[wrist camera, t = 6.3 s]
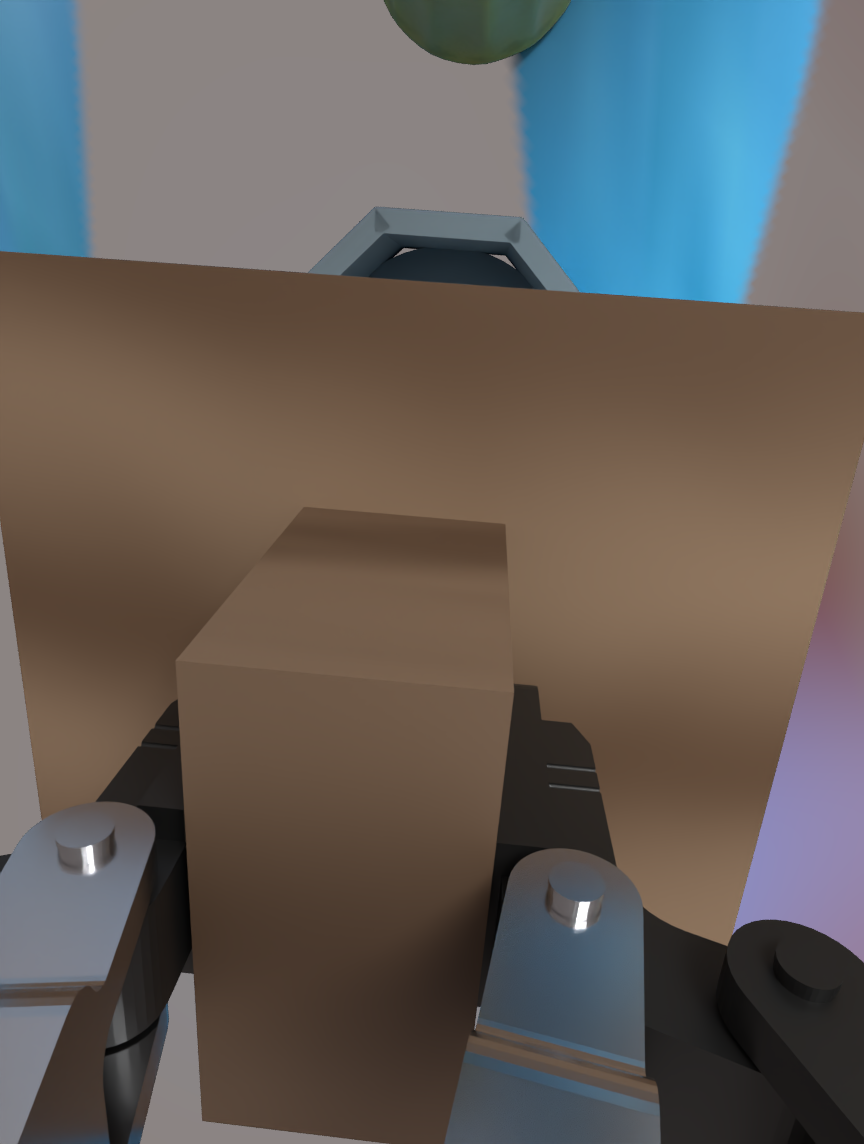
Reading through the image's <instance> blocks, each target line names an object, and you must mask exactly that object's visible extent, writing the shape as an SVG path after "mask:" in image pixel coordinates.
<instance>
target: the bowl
mask: <svg viewBox="0 0 864 1144" xmlns="http://www.w3.org/2000/svg"><path fill="white" fill-rule="evenodd" d="M403 248H411V249H417V250H413V251H410V252H406V253H403V254H401V255H399V256H396V257H394V256H395V255H397V254H398V253H399V252H400V251H401V250H402V249H403ZM489 254H492V255H505V256H506V257H507V258H508V259H509V261H510V262H511V263H512V264H513V266H514V267H515V268H516V269H514V268H513V267H512V266H510V265H509V264H507V263H505V262H504V261H502V260H500V259H498V258H495V257H493V256H491V255H489ZM393 257H394V258H393ZM308 273H314V274H328V275H342V276H356V277H370V278H384V279H398V280H412V281H426V282H440V283H454V284H468V285H482V286H497V287H511V288H525V289H539V290H553V291H567V292H579V291H578V289H577V288H576V287H575V285H574V284H573V283H572V281H571V280H570V279H569V277H568V276H567V275H566V273H565V272H564V271H563V270H562V268H561V267H560V266H559V264H558V263H557V262H556V260H555V259H554V258H553V256H552V255H551V254H550V253H549V251H548V250H547V249H546V247H545V246H544V245H543V243H542V242H541V241H540V239H539V238H538V237H537V236H536V234H535V233H534V232H533V230H532V229H531V228H530V226H529V225H528V224H527V222H526V221H525V220H524V218H522V217H511V216H498V215H484V214H469V213H455V212H442V211H429V210H415V209H401V208H386V207H376V208H375V207H374V208H373V209H372V210H371V211H370V212H369V213H368V214H367V215H366V216H365V217H364V218H363V219H362V220H361V221H360V222H359V223H358V224H357V225H356V226H355V227H354V228H353V229H352V230H351V231H350V232H349V233H348V234H347V235H346V236H345V237H344V238H343V239H342V240H341V241H340V242H339V243H338V244H337V245H336V246H335V247H334V248H333V249H332V250H330V251H329V252H328V253H327V254H326V255H325V257H323V258H322V259H321V260H320V261H319V262H318V263H317V264H316V265H315V266H314V267H313V268H312V269H311V270H310V271H309V272H308Z"/></svg>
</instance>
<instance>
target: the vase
mask: <svg viewBox="0 0 864 1144" xmlns="http://www.w3.org/2000/svg"><path fill="white" fill-rule="evenodd" d="M384 2H385V4H386V6H387V8H388V10H389V12H390V14H391V16H392V18H393V19H394V20H395V22H396V23H397V25H398V26H399V27H400V28H401V29H402V31H403V32H404V33H405V34H406V35H407V36H408V37H409V38H410V39H411V40H413V41H414V42H415V43H416V44H417V45H418V46H420V47H421V48H422V49H424V50H425V51H427V52H428V53H430V54H432V55H435V56H437V57H439V58H442V59H444V60H448V61H452V62H456V63H462V64H472V65H476V64H488V63H492V62H496V61H499V60H502V59H505V58H507V57H510V56H513V55H515V54H517V53H520V52H522V51H524V50H526V49H527V48H529V47H531V46H533V45H534V44H535V43H536V42H538V41H539V40H540V39H541V38H542V37H543V36H544V35H545V34H546V33H547V32H548V31H549V30H550V29H551V28H552V26H553V25H554V24H555V23H556V22H557V21H558V20H559V18H560V17H561V16H562V15H563V13H564V12H565V11H566V9H567V7H568V5H569V4H570V2H571V0H384Z"/></svg>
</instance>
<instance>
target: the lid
mask: <svg viewBox="0 0 864 1144" xmlns="http://www.w3.org/2000/svg"><path fill="white" fill-rule="evenodd" d="M863 442H864V313H862V312H848V311H834V310H820V309H805V308H792V307H778V306H763V305H750V304H736V303H722V302H708V301H694V300H680V299H665V298H651V297H637V296H623V295H609V294H595V293H581V292H567V291H553V290H539V289H525V288H511V287H497V286H482V285H468V284H454V283H440V282H426V281H412V280H398V279H384V278H370V277H356V276H342V275H328V274H314V273H299V272H285V271H271V270H257V269H243V268H229V267H215V266H201V265H187V264H173V263H158V262H144V261H130V260H116V259H102V258H88V257H74V256H60V255H46V254H32V253H18V252H4V251H0V522H1V529H2V536H3V544H4V551H5V558H6V565H7V573H8V580H9V587H10V594H11V602H12V608H13V616H14V623H15V630H16V637H17V645H18V652H19V659H20V666H21V674H22V681H23V688H24V695H25V703H26V710H27V717H28V723H29V731H30V739H31V746H32V753H33V760H34V767H35V774H36V781H37V789H38V796H39V803H40V810H41V818H42V820H43V819H45V818H47V817H48V816H50V815H52V814H54V813H57V812H59V811H61V810H64V809H67V808H70V807H73V806H77V805H81V804H86V803H92V802H96V800H97V799H98V798H99V796H100V795H101V794H102V792H103V791H104V790H105V788H106V787H107V786H108V785H109V783H110V782H111V781H112V779H113V778H114V777H115V775H116V774H117V773H118V772H119V770H120V769H121V768H122V766H123V765H124V764H125V762H126V761H127V760H128V759H129V757H130V756H131V755H132V753H133V752H134V751H135V749H136V748H137V747H138V746H141V743H142V740H143V739H144V738H145V736H146V735H147V734H148V732H149V731H150V730H151V729H152V728H153V729H154V727H155V723H156V722H157V721H158V719H159V718H160V717H161V716H162V714H163V713H164V712H165V710H166V709H167V708H168V706H169V705H170V704H171V703H172V702H174V701H176V700H177V699H178V712H179V729H180V746H181V763H182V781H183V798H184V815H185V832H186V849H187V866H188V883H189V900H190V918H191V935H192V952H193V969H194V985H195V1003H196V1020H197V1038H198V1055H199V1072H200V1089H201V1106H202V1120H203V1121H207V1122H216V1123H224V1124H232V1125H241V1126H249V1127H256V1128H265V1129H273V1130H281V1131H289V1132H297V1133H306V1134H314V1135H322V1136H330V1137H339V1138H347V1139H355V1140H363V1141H371V1142H380V1143H389V1144H444V1142H445V1138H446V1134H447V1129H448V1125H449V1120H450V1116H451V1112H452V1107H453V1103H454V1098H455V1094H456V1089H457V1085H458V1081H459V1076H460V1072H461V1067H462V1063H463V1059H464V1054H465V1050H466V1046H467V1042H468V1039H469V1035H470V1033H471V1030H474V1026H475V1018H476V1010H477V1002H478V994H479V985H480V977H481V968H482V960H483V951H484V943H485V934H486V926H487V917H488V909H489V901H490V892H491V884H492V875H493V867H494V858H495V850H496V841H497V833H498V824H499V816H500V808H501V799H502V791H503V782H504V774H505V765H506V757H507V748H508V740H509V731H510V723H511V714H512V706H513V698H514V684H524V685H534V686H537V687H538V692H539V701H540V710H541V719H542V720H548V721H558V722H569V723H572V724H573V725H574V726H575V727H576V728H577V729H578V731H579V732H580V733H581V734H582V735H583V736H584V737H585V739H586V740H587V741H588V742H589V743H590V744H591V749H592V753H593V758H594V763H595V767H596V769H595V773H597V777H598V781H599V786H600V793H601V795H602V800H603V805H604V809H605V814H606V819H607V823H608V828H609V833H610V837H611V842H612V847H613V851H614V856H615V861H616V865H617V868H619V869H620V870H621V871H622V872H623V873H624V874H625V875H627V876H628V878H629V879H630V880H631V881H632V882H633V884H634V885H635V887H636V888H637V890H638V892H639V894H640V897H641V900H642V904H643V907H644V908H645V909H646V910H648V911H649V912H650V913H652V914H653V915H655V916H656V917H658V918H659V919H661V920H663V921H665V922H667V923H669V924H670V925H672V926H675V927H677V928H679V929H682V930H684V931H687V932H690V933H692V934H695V935H698V936H701V937H704V938H706V939H709V940H712V941H715V942H718V943H720V944H723V945H726V946H728V943H729V941H730V938H731V936H732V933H733V929H734V926H735V922H736V918H737V914H738V911H739V907H740V903H741V899H742V896H743V892H744V888H745V884H746V881H747V877H748V873H749V869H750V865H751V862H752V858H753V854H754V851H755V847H756V843H757V839H758V836H759V832H760V828H761V824H762V821H763V817H764V813H765V809H766V806H767V802H768V798H769V794H770V790H771V787H772V782H773V779H774V776H775V772H776V768H777V764H778V761H779V757H780V753H781V749H782V746H783V742H784V738H785V734H786V731H787V727H788V723H789V719H790V715H791V712H792V708H793V704H794V700H795V697H796V693H797V689H798V686H799V682H800V678H801V674H802V671H803V666H804V663H805V659H806V656H807V652H808V648H809V644H810V640H811V636H812V633H813V629H814V626H815V622H816V618H817V614H818V610H819V607H820V603H821V599H822V595H823V592H824V588H825V584H826V581H827V577H828V573H829V569H830V566H831V562H832V558H833V554H834V550H835V546H836V543H837V539H838V535H839V532H840V528H841V524H842V520H843V517H844V513H845V509H846V505H847V502H848V498H849V494H850V490H851V487H852V483H853V479H854V475H855V472H856V468H857V464H858V460H859V457H860V453H861V449H862V445H863Z"/></svg>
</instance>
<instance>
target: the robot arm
mask: <svg viewBox="0 0 864 1144" xmlns="http://www.w3.org/2000/svg"><path fill="white" fill-rule="evenodd" d="M595 769H596V767H595V763H594V758H593V753H592V749H591V744H590V743H589V742H588V741H587V740H586V739H585V737H584V736H583V735H582V734H581V733H580V732H579V731H578V729H577V728H576V727H575V726H574V725H573V724H572V723H569V722H558V721H548V720H542V719H541V710H540V701H539V692H538V687H537V686H534V685H524V684H514V698H513V706H512V714H511V723H510V731H509V740H508V748H507V757H506V765H505V774H504V782H503V791H502V799H501V808H500V816H499V824H498V833H497V841H496V850H495V858H494V867H493V875H492V884H491V892H490V901H489V909H488V917H487V926H486V934H485V943H484V951H483V960H482V968H481V977H480V985H479V994H478V1002H477V1007H481V1008H480V1012H479V1017H478V1021H477V1025H476V1029H475V1030H471V1033H470V1035H469V1039H468V1042H467V1046H466V1050H465V1054H464V1059H463V1063H462V1067H461V1072H460V1076H459V1081H458V1085H457V1089H456V1094H455V1098H454V1103H453V1107H452V1112H451V1116H450V1120H449V1125H448V1129H447V1134H446V1138H445V1142H444V1144H864V963H863V962H862V961H861V960H860V959H859V958H858V957H857V956H856V955H854V954H853V953H852V952H851V951H850V950H848V949H847V948H846V947H844V946H843V945H841V944H840V943H839V942H837V941H835V940H834V939H832V938H830V937H828V936H827V935H825V934H823V933H820V932H818V931H816V930H814V929H812V928H809V927H806V926H803V925H800V924H796V923H792V922H788V921H781V920H760V921H754V922H751V923H748V924H745V925H743V926H742V927H741V928H739V929H737V930H736V932H735V933H734V934H733V935H732V936H731V938H730V941H729V943H728V946H726V945H723V944H720V943H718V942H715V941H712V940H709V939H706V938H704V937H701V936H698V935H695V934H692V933H690V932H687V931H684V930H682V929H679V928H677V927H675V926H672V925H670V924H669V923H667V922H665V921H663V920H661V919H659V918H658V917H656V916H655V915H653V914H652V913H650V912H649V911H648V910H646V909H645V908H644V907H643V904H642V900H641V897H640V894H639V892H638V890H637V888H636V887H635V885H634V884H633V882H632V881H631V880H630V879H629V878H628V876H627V875H625V874H624V873H623V872H622V871H621V870H620V869H619V868H617V865H616V861H615V856H614V851H613V847H612V842H611V837H610V833H609V828H608V823H607V819H606V814H605V809H604V805H603V800H602V795H601V793H600V786H599V781H598V777H597V773H595ZM181 972H183V973H192V974H194V969H193V952H192V935H191V918H190V900H189V883H188V866H187V849H186V832H185V815H184V798H183V781H182V763H181V746H180V729H179V712H178V699H177V700H176V701H174V702H172V703H171V704H170V705H169V706H168V708H167V709H166V710H165V712H164V713H163V714H162V716H161V717H160V718H159V719H158V721H157V722H156V723H155V727H154V729H153V728H152V729H151V730H150V731H149V732H148V734H147V735H146V736H145V738H144V739H143V740H142V743H141V746H138V747H137V748H136V749H135V751H134V752H133V753H132V755H131V756H130V757H129V759H128V760H127V761H126V762H125V764H124V765H123V766H122V768H121V769H120V770H119V772H118V773H117V774H116V775H115V777H114V778H113V779H112V781H111V782H110V783H109V785H108V786H107V787H106V788H105V790H104V791H103V792H102V794H101V795H100V796H99V798H98V799H97V800H96V802H92V803H86V804H81V805H77V806H73V807H70V808H67V809H64V810H61V811H59V812H57V813H54V814H52V815H50V816H48V817H47V818H45V819H43V820H42V821H40V822H39V823H37V824H36V825H35V826H33V827H32V828H31V829H30V830H29V831H28V832H27V833H26V834H25V835H24V836H23V837H22V838H21V840H20V841H19V843H18V844H17V846H16V848H15V849H14V851H13V853H12V854H8V855H3V856H0V1144H140V1141H141V1137H142V1132H143V1128H144V1124H145V1120H146V1116H147V1112H148V1108H149V1103H150V1099H151V1095H152V1091H153V1087H154V1083H155V1079H156V1075H157V1071H158V1066H159V1062H160V1058H161V1054H162V1050H163V1046H164V1041H165V1038H166V1033H167V1029H168V1022H169V1014H168V1001H169V998H170V996H171V994H172V992H173V990H174V987H175V985H176V983H177V981H178V978H179V976H180V974H181Z"/></svg>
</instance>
